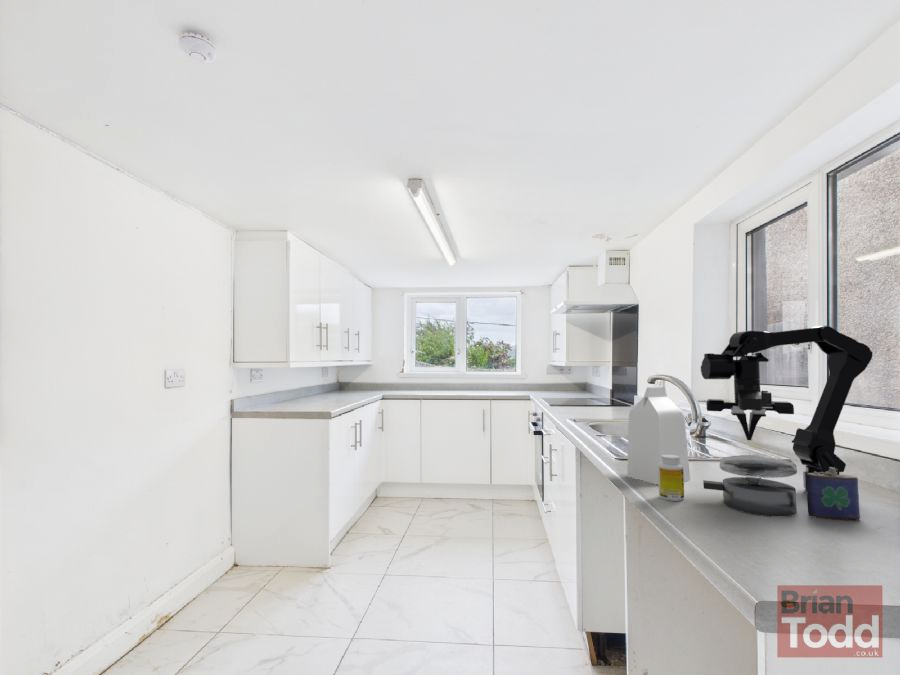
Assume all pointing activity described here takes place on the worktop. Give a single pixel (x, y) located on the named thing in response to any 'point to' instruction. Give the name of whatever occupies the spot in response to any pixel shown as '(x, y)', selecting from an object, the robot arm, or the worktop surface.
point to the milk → (655, 435)
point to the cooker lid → (758, 466)
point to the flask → (832, 495)
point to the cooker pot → (756, 495)
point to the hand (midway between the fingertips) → (749, 440)
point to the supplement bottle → (671, 478)
